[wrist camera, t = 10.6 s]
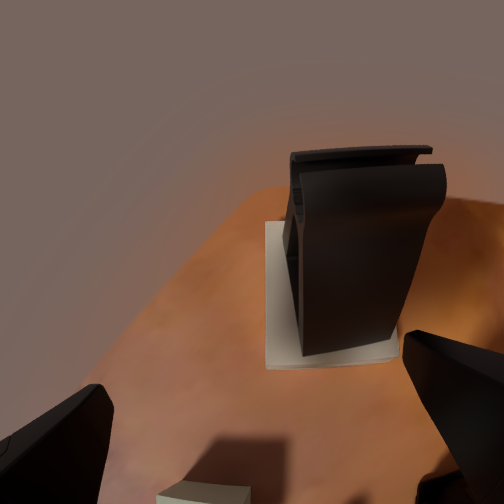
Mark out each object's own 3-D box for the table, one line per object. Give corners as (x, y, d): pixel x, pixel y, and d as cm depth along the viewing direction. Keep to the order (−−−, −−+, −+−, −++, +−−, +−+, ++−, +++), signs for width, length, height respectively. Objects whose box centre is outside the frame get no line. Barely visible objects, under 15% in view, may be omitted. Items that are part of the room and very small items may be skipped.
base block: (369, 235, 25) (375, 218, 23) (388, 361, 20) (399, 355, 17) (267, 238, 26) (265, 221, 24) (267, 370, 20) (265, 365, 18)
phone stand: (388, 341, 18) (489, 252, 8) (301, 358, 18) (326, 282, 8) (357, 229, 23) (394, 96, 12) (282, 238, 23) (276, 98, 12)
